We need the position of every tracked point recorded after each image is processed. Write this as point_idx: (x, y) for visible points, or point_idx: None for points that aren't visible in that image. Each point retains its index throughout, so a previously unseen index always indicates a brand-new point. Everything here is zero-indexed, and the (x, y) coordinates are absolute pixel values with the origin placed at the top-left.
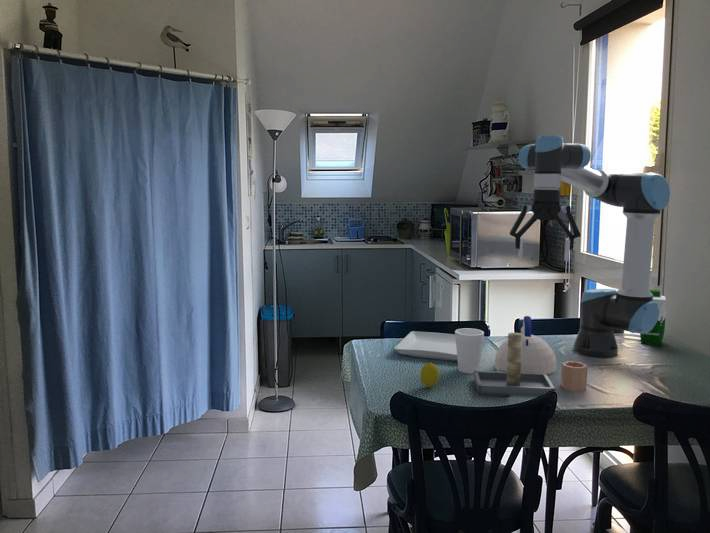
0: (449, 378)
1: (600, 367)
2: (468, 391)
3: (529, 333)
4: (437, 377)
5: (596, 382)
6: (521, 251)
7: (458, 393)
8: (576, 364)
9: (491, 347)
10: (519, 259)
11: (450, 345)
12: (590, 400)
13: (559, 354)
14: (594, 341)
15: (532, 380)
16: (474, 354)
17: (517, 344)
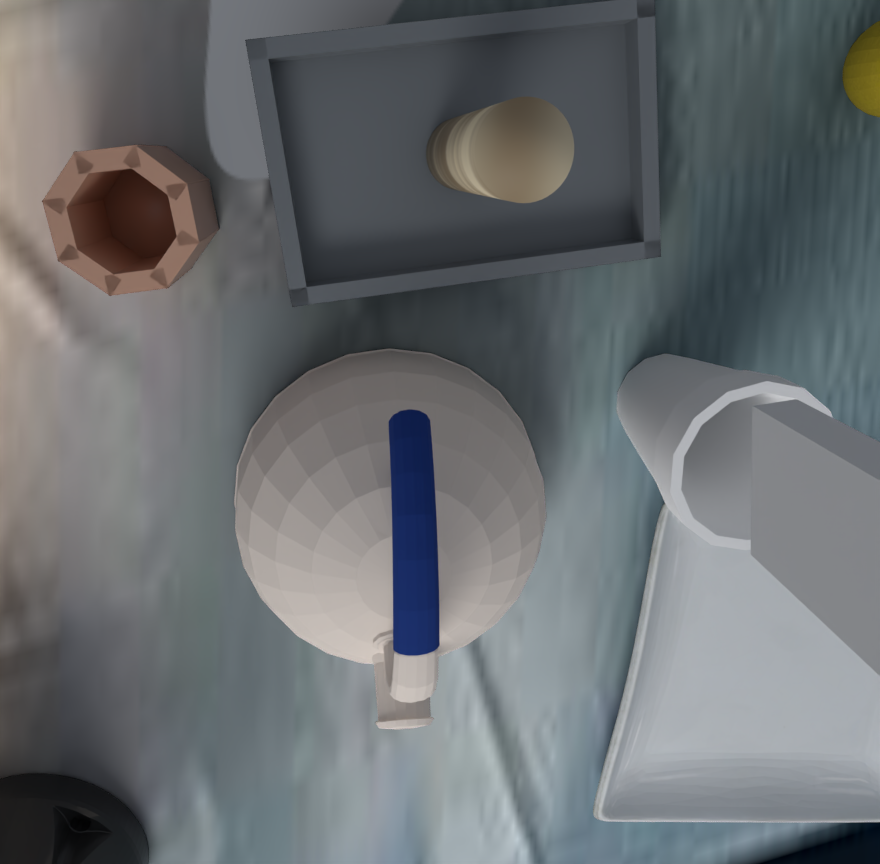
0: (755, 247)
1: (14, 621)
2: (676, 62)
3: (401, 431)
4: (864, 39)
5: (34, 375)
6: (871, 461)
7: (726, 17)
8: (113, 271)
9: (537, 773)
10: (803, 409)
11: (727, 732)
12: (64, 64)
13: (217, 764)
14: (24, 844)
15: (360, 271)
16: (677, 375)
17: (495, 104)
